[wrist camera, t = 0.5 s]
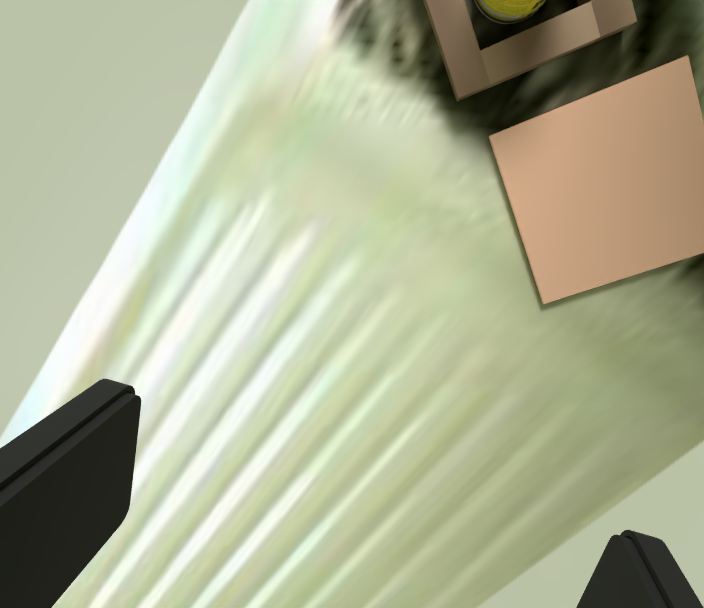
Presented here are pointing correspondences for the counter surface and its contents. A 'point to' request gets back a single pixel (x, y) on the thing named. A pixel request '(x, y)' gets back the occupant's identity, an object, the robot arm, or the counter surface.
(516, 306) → the counter surface
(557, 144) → the terracotta coaster
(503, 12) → the supplement bottle
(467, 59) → the walnut cup holder
